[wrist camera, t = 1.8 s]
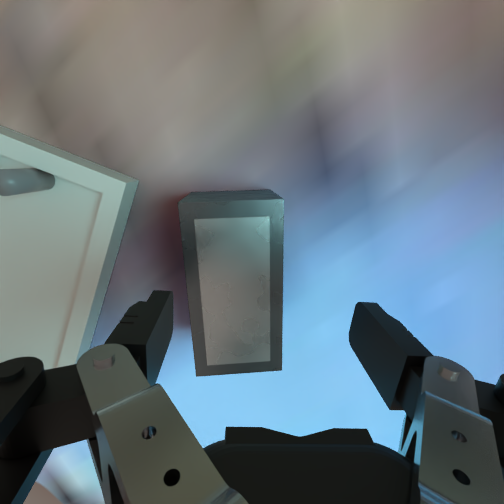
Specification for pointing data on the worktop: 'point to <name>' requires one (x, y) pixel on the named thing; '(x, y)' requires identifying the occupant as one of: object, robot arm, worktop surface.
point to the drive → (234, 279)
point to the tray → (55, 247)
